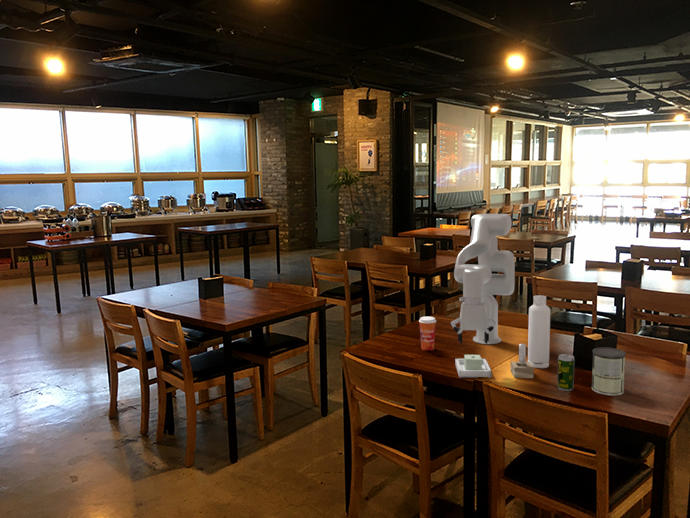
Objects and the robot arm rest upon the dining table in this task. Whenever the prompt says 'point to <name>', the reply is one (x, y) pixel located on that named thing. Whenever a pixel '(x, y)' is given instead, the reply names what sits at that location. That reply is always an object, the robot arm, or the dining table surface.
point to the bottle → (539, 333)
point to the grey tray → (473, 373)
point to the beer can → (565, 372)
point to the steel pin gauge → (522, 354)
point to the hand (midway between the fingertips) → (473, 342)
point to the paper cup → (427, 332)
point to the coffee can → (608, 371)
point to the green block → (472, 362)
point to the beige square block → (522, 370)
